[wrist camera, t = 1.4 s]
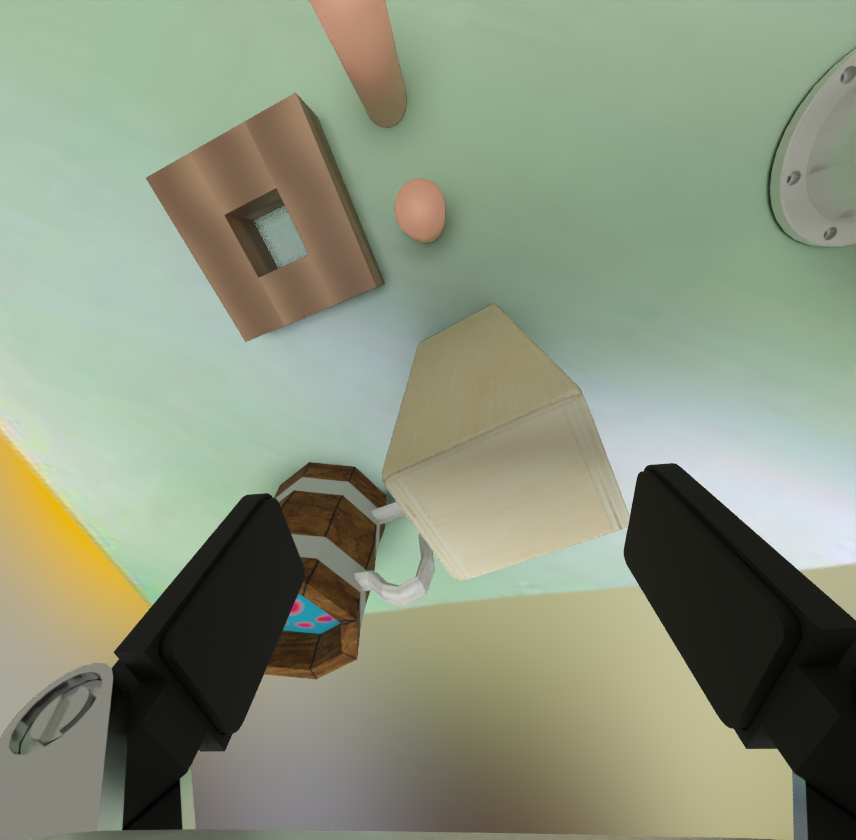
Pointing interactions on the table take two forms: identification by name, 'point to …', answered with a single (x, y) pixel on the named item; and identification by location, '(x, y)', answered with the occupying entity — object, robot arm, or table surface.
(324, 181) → the hole block
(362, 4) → the pin long
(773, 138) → the table surface
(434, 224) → the pin medium
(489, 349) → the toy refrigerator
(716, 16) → the table surface
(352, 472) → the mug
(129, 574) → the table surface
